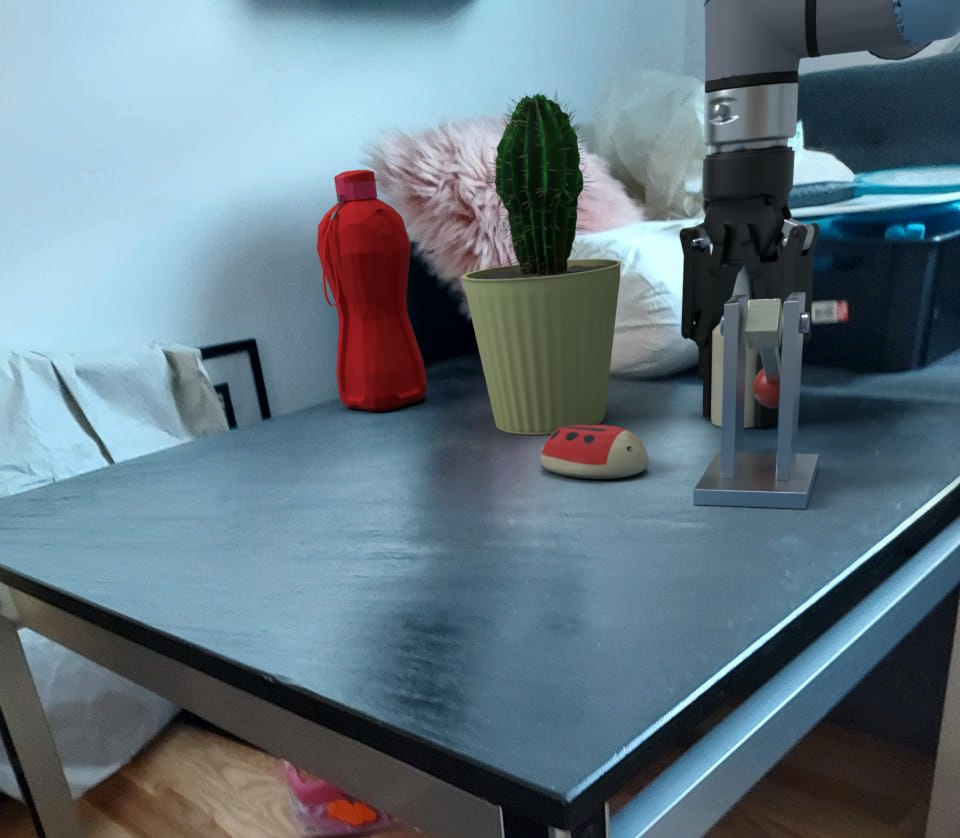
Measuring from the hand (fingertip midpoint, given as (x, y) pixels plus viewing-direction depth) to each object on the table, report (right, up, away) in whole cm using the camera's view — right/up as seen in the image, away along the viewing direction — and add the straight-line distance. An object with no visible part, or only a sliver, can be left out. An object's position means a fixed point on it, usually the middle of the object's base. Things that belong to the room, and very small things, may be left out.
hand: (740, 418), depth 91 cm
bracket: (-3, -9, -18) cm, 20 cm away
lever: (-3, -1, -18) cm, 18 cm away
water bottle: (-37, +6, +22) cm, 43 cm away
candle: (0, 0, 0) cm, 1 cm away
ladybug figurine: (-15, -7, -10) cm, 19 cm away
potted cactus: (-18, +1, +7) cm, 19 cm away
